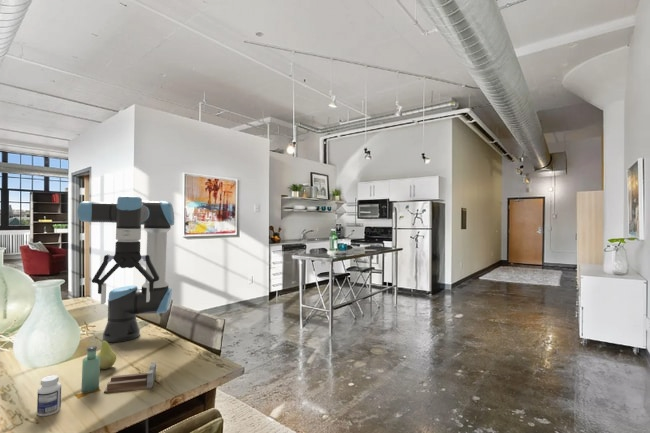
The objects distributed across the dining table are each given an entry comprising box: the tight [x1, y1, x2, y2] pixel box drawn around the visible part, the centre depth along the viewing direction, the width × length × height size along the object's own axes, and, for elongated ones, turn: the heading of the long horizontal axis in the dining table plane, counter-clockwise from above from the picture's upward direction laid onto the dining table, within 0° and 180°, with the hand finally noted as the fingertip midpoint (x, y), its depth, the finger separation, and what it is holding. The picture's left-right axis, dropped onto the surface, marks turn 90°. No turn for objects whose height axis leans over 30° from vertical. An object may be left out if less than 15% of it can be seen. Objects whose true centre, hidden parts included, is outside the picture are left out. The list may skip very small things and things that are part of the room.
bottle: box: [81, 345, 101, 393], centre depth 114 cm, size 5×5×14 cm
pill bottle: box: [36, 374, 62, 417], centre depth 101 cm, size 5×5×10 cm
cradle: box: [103, 361, 157, 394], centre depth 118 cm, size 9×14×5 cm, turn 108°
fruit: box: [94, 336, 117, 370], centre depth 130 cm, size 7×8×12 cm
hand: (126, 302), depth 120 cm, fingers open, 13 cm apart
